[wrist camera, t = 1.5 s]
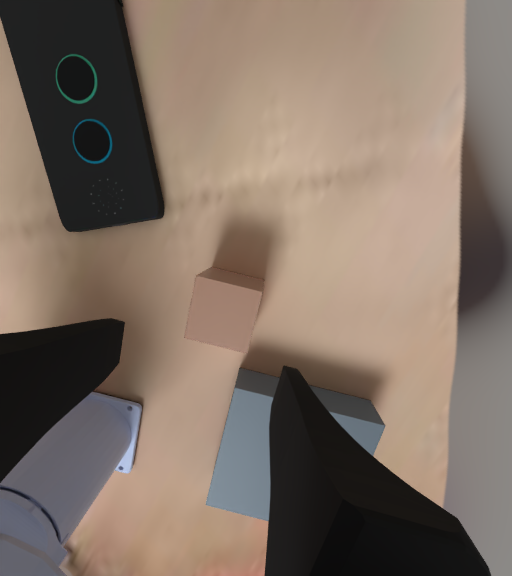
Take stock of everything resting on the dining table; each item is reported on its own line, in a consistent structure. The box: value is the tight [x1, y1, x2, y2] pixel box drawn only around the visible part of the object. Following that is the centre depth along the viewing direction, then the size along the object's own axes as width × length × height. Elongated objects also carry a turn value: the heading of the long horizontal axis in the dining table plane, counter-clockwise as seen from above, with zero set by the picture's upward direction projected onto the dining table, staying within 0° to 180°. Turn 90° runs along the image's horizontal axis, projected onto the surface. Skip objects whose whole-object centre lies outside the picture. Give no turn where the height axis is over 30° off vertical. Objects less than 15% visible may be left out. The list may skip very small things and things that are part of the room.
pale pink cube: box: [184, 267, 265, 353], centre depth 19 cm, size 4×4×4 cm
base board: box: [206, 368, 385, 521], centre depth 22 cm, size 12×12×3 cm
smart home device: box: [0, 0, 164, 232], centre depth 18 cm, size 8×2×20 cm
